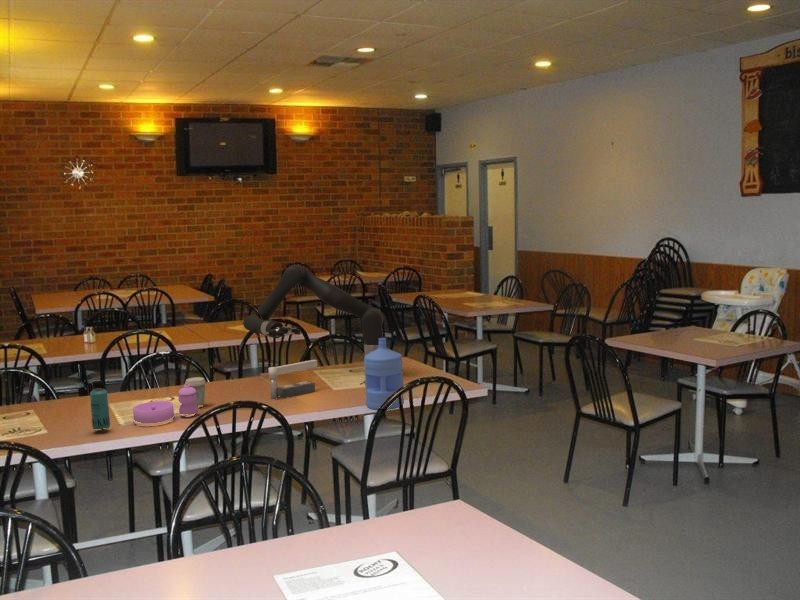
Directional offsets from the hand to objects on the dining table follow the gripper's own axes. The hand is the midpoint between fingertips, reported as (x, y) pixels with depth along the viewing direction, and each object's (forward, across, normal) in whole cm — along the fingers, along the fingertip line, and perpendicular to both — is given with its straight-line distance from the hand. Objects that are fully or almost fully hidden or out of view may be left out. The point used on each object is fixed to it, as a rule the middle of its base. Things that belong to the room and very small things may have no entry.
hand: (291, 333), depth 350 cm
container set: (0, -60, +27) cm, 66 cm away
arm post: (+5, -13, +26) cm, 30 cm away
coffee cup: (-9, -42, +27) cm, 51 cm away
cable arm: (+5, -3, +17) cm, 18 cm away
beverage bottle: (-2, -85, +27) cm, 89 cm away
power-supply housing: (+5, -2, +26) cm, 27 cm away
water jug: (+49, +13, +26) cm, 57 cm away
